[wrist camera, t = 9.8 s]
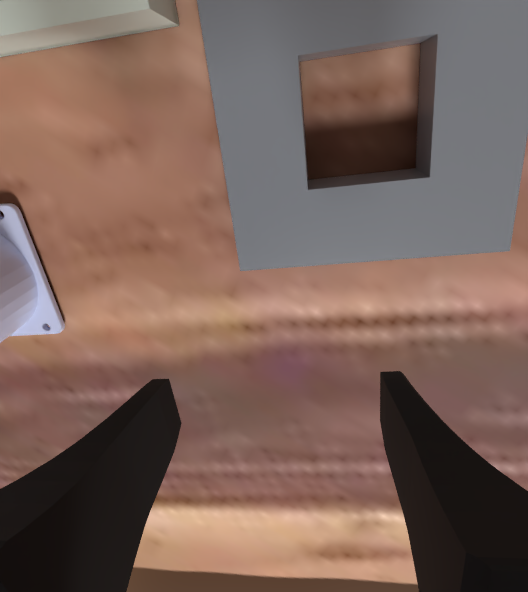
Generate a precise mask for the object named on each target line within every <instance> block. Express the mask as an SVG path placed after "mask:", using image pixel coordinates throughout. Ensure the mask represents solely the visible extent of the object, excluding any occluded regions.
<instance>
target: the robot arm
mask: <svg viewBox="0 0 528 592" xmlns="http://www.w3.org/2000/svg"><path fill="white" fill-rule="evenodd" d="M0 211H2V212H3V214H4V217H3V216H2V215H1V214H0V343H1V342H2V341H3V340H5V339H6V338H7V337H8V336H19V335H38V334H57V333H60V332H61V331H62V330H63V329H64V328H65V324H64V321H63V319H62V316H61V314H60V311H59V308H58V306H57V303H56V301H55V298H54V296H53V293H52V291H51V288H50V285H49V283H48V280H47V278H46V275H45V273H44V270H43V268H42V265H41V262H40V260H39V257H38V255H37V252H36V250H35V247H34V245H33V242H32V239H31V237H30V234H29V232H28V229H27V227H26V224H25V222H24V219H23V216H22V214H21V211H20V210H19V208H18V207H17V206H16V205H14V204H12V203H5V204H0ZM46 324H48V325H49V326H50V327H48V326H47V325H46ZM380 422H381V428H382V434H383V440H384V446H385V451H386V455H387V458H388V462H389V465H390V469H391V472H392V476H393V479H394V483H395V486H396V490H397V493H398V497H399V500H400V503H401V507H402V510H403V514H404V518H405V522H406V526H407V530H408V534H409V540H410V545H411V550H412V555H413V561H414V566H415V571H416V577H417V582H418V588H419V592H528V491H527V490H525V489H524V488H522V487H521V486H520V485H518V484H517V483H515V482H514V481H513V480H511V479H510V478H508V477H507V476H506V475H504V474H503V473H501V472H500V471H499V470H497V469H496V468H495V467H493V466H492V465H491V464H490V463H488V462H487V461H486V460H485V459H483V458H482V457H481V456H480V455H479V454H477V453H476V452H475V451H474V450H473V449H472V448H470V447H469V446H468V445H467V444H466V443H465V442H464V441H463V440H462V439H461V438H460V437H458V436H457V435H456V434H455V433H454V432H453V431H452V430H451V429H450V428H449V427H448V426H447V425H446V424H445V423H444V422H443V421H442V420H441V419H440V417H439V416H438V415H437V414H436V413H435V412H434V411H433V410H432V409H431V408H430V406H429V405H428V404H427V403H426V402H425V401H424V400H423V398H422V397H421V396H420V395H419V394H418V392H417V391H416V390H415V389H414V387H413V386H412V385H411V384H410V382H409V381H408V380H407V378H406V377H405V376H404V374H403V373H402V372H400V371H393V372H381V373H380ZM180 427H181V420H180V417H179V413H178V409H177V406H176V402H175V399H174V395H173V392H172V388H171V384H170V381H169V379H153V380H151V381H150V382H149V383H147V384H146V385H145V386H144V387H143V388H141V389H140V390H139V391H138V392H137V393H136V394H135V395H133V396H132V397H131V398H130V399H129V400H128V401H127V402H125V403H124V404H123V405H122V406H121V407H120V408H119V409H117V410H116V411H115V412H114V413H113V414H112V415H110V416H109V417H108V418H107V419H106V420H104V421H103V422H102V423H101V424H99V425H98V426H97V427H96V428H94V429H93V430H92V431H90V432H89V433H88V434H87V435H85V436H84V437H83V438H82V439H80V440H79V441H78V442H76V443H75V444H73V445H72V446H71V447H69V448H68V449H66V450H65V451H63V452H62V453H60V454H59V455H57V456H56V457H55V458H53V459H51V460H50V461H48V462H47V463H45V464H43V465H42V466H40V467H38V468H37V469H35V470H33V471H32V472H30V473H28V474H27V475H25V476H23V477H22V478H20V479H18V480H16V481H15V482H13V483H11V484H9V485H7V486H5V487H3V488H1V489H0V592H126V591H127V587H128V583H129V579H130V576H131V572H132V568H133V565H134V561H135V557H136V554H137V550H138V547H139V544H140V540H141V537H142V534H143V530H144V527H145V524H146V521H147V518H148V516H149V513H150V510H151V508H152V505H153V503H154V500H155V498H156V495H157V493H158V490H159V488H160V486H161V483H162V481H163V478H164V476H165V473H166V471H167V468H168V466H169V463H170V461H171V458H172V456H173V453H174V450H175V447H176V443H177V439H178V435H179V431H180Z"/></svg>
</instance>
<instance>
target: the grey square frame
mask: <svg viewBox="0 0 528 592" xmlns="http://www.w3.org/2000/svg"><path fill="white" fill-rule="evenodd" d="M197 4H198V10H199V16H200V22H201V29H202V35H203V41H204V47H205V54H206V60H207V66H208V72H209V78H210V85H211V91H212V97H213V103H214V110H215V116H216V122H217V128H218V135H219V141H220V147H221V153H222V160H223V166H224V172H225V178H226V184H227V191H228V197H229V203H230V209H231V216H232V222H233V228H234V234H235V241H236V247H237V253H238V259H239V266H240V271H247V270H261V269H274V268H288V267H301V266H315V265H328V264H342V263H355V262H368V261H382V260H395V259H409V258H422V257H436V256H449V255H463V254H476V253H490V252H503V251H510V246H511V239H512V233H513V226H514V219H515V213H516V206H517V200H518V193H519V187H520V180H521V174H522V167H523V160H524V154H525V147H526V141H527V134H528V0H197ZM418 43H421V48H420V72H419V97H418V121H417V146H416V168H413V169H404V170H395V171H385V172H376V173H367V174H358V175H348V176H339V177H330V178H320V179H311V180H308V169H307V155H306V141H305V127H304V114H303V100H302V86H301V72H300V62H301V61H307V60H314V59H320V58H327V57H333V56H340V55H346V54H353V53H359V52H366V51H373V50H379V49H386V48H392V47H399V46H405V45H412V44H418Z"/></svg>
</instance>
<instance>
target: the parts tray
mask: <svg viewBox="0 0 528 592" xmlns="http://www.w3.org/2000/svg"><path fill="white" fill-rule="evenodd" d="M176 26H179V20H178V15H177V9H176V3H175V0H0V57H4V56H10V55H16V54H21V53H27V52H33V51H39V50H44V49H50V48H56V47H62V46H67V45H73V44H79V43H84V42H90V41H96V40H102V39H107V38H113V37H119V36H125V35H130V34H136V33H142V32H147V31H153V30H159V29H165V28H170V27H176Z"/></svg>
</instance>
